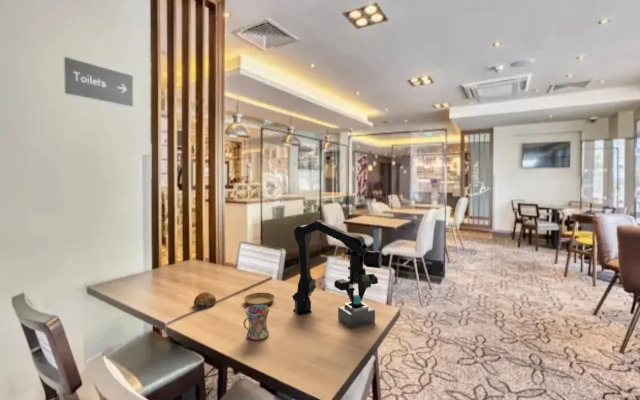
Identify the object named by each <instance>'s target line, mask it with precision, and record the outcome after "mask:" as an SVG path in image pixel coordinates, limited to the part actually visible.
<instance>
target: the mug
mask: <svg viewBox="0 0 640 400" xmlns="http://www.w3.org/2000/svg"><path fill="white" fill-rule="evenodd" d="M244 312H245V315H246V318H245V319H244V320H243V323H242V324H243V327H244V328H245V330H247V333H246V338H248V339H250V340H256V341H257V340H258V341H259V340H262V339H265V338H267V337H268V336H269V335H270V331H269V329H268V326H267V320H268V315H269V312H270V307H269V305H253V306H250V305H249V306H248V307H247V308H245V310H244ZM247 320H248V321H247ZM246 322H248V327H247V326H246Z"/></svg>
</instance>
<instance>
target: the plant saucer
mask: <svg viewBox="0 0 640 400" xmlns="http://www.w3.org/2000/svg"><path fill="white" fill-rule="evenodd" d="M274 299H275V295H274V294H273V293H270V292H253V293H249V294H247V295H245V296H244V297H243V300H244V302H245V303H246V304H248V306H249V307H250V306H253V305H266V306H269V305H270V304H271V303H272V302H273V301H274Z"/></svg>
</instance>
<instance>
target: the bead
mask: <svg viewBox="0 0 640 400" xmlns="http://www.w3.org/2000/svg"><path fill="white" fill-rule="evenodd" d="M360 302H362V301H361V298H360V296H359V294H353V304H355V305H358V304H360Z"/></svg>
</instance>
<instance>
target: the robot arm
mask: <svg viewBox="0 0 640 400" xmlns="http://www.w3.org/2000/svg"><path fill="white" fill-rule="evenodd" d="M316 231H318V232H320V233H323V234H325V235H327V236H328V237H331V238H333V239H335V240H337V241H340V242H341V243H342V244H344V246H345V247H346V248H348V249H347V251H345V253H344V255H345V256H349V266H348V267H347V270H349V276H347V280H346V279H344V278H340V279H335V281H334V282H333V285H334V288H336V289H337V290H340V291H341V292H342V291H345V292H346V293H347V296H348V298H349V300H350V301H349V302H352V303H353V296H354V291H355V290H356V288H355V287H354V285H357V289H358V292H357V293H358V295H359V296H360V298H361V302H363V298H364V297H365V296H364V295H365V292H366V291H367V289H368V288H371V287H372V285H377V284H379V279H378V277H377V276H376V275H375V274H374V273H366V272H367V270H366V268H373V269H381V268H382V264H383V258H382V253H381V251H380V250H376V251H375V250H370V248H369V247H368V245H367V244H366V243H365V238H364V237H363V235H360V234H356V233H352V232H348V231H347V232H346V231H344V230H342V229H340V228H338V227H335V226H334V225H331V224H329V223H327V222H325V221H324V220H321V219H319V220H315V221H313V222H311V223H310V224H301V225H299V226H296V227H295V228H294V230H293V235H294V239H295V242H296V244H297V246H298V258H299V259H298V260H299V261H298V262H299V275H300V276H299V280H298V283H297V291H296V292H295V293H294V294H293V295H292V300H293V301H294V308H293V311H294V312H295V313H296V314H297V315H299V316H300V315H305V314H310V313H312V301H311V298H310V296H312V293H313V292H315V289H316V288H317V286H316V278H313V277H312V275H311V260H310V259H311V258H310V242H311V239H312V233H313V232H316ZM364 266H365V267H366V268H365V267H364Z"/></svg>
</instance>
